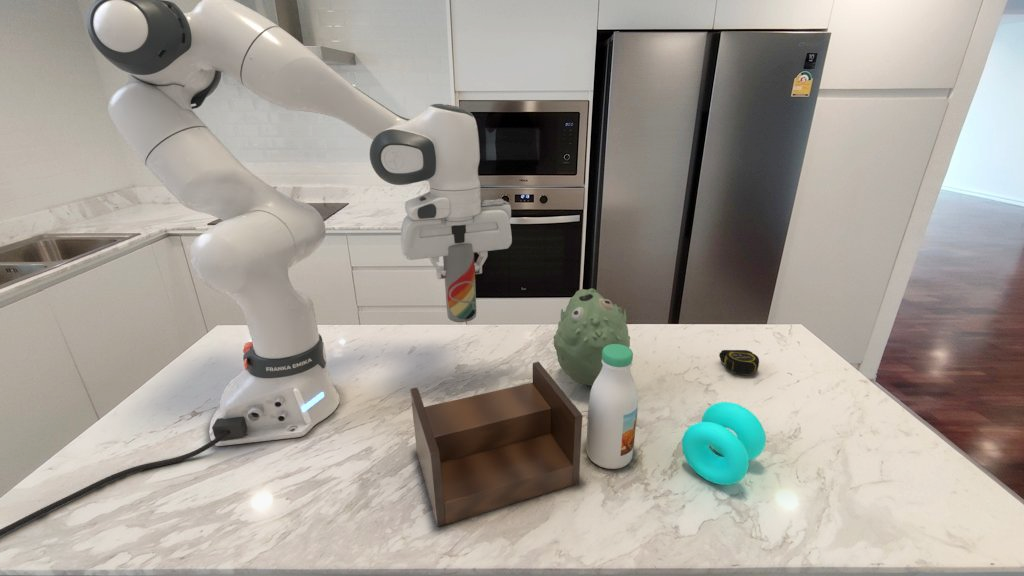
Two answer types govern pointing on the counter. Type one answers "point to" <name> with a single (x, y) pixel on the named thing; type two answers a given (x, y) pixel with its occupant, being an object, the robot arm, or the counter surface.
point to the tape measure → (740, 361)
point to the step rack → (497, 447)
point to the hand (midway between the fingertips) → (459, 275)
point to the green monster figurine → (588, 334)
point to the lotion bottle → (460, 278)
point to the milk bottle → (612, 410)
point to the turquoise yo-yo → (724, 443)
